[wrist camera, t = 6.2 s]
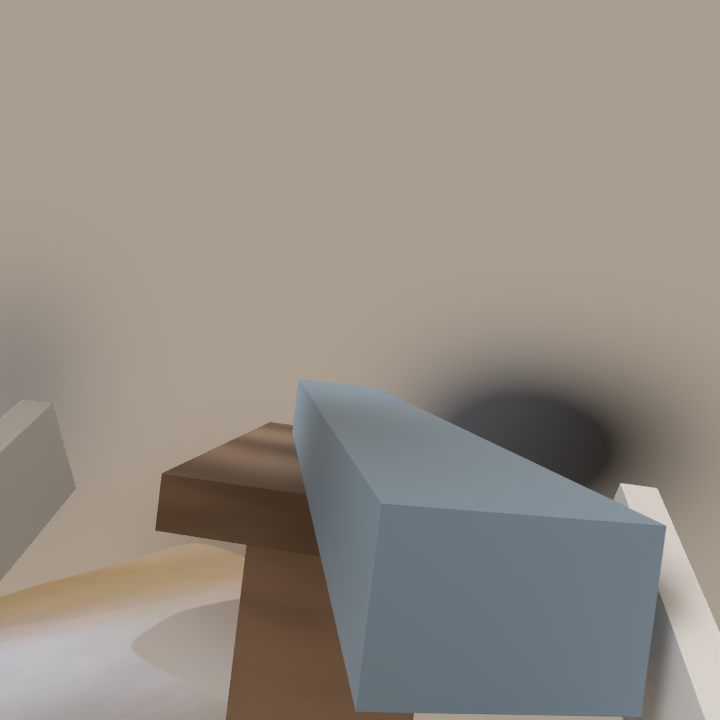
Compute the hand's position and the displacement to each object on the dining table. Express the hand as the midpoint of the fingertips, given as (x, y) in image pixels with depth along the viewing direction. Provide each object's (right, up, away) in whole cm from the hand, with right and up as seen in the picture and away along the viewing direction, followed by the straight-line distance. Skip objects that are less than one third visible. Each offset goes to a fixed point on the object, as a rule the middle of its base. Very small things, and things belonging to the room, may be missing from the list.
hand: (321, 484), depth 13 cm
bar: (+1, -2, +7) cm, 7 cm away
